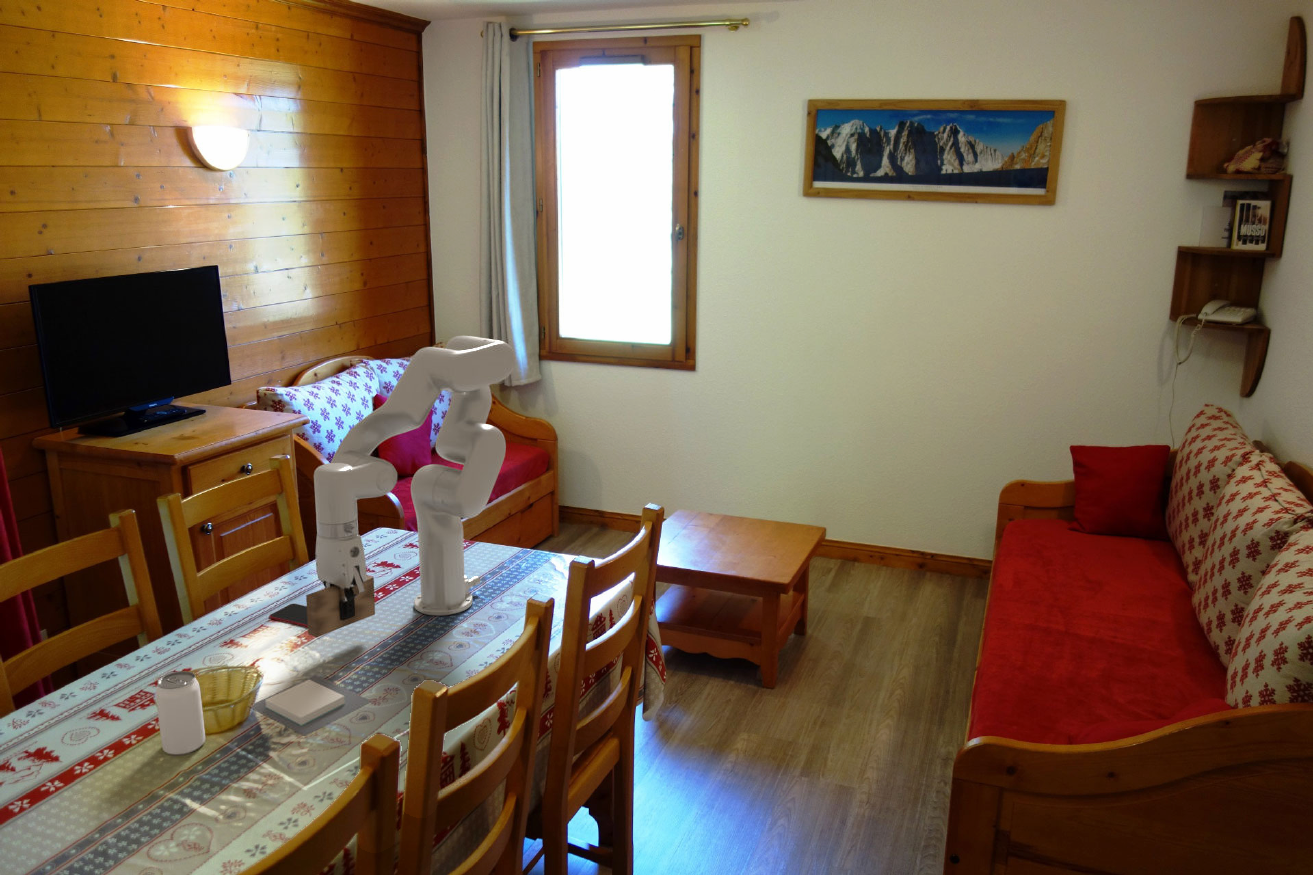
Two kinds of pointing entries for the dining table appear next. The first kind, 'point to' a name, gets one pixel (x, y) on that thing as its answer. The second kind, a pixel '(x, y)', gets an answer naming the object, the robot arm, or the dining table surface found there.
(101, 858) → the dining table surface
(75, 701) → the dining table surface
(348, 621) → the wooden plank piece
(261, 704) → the mat
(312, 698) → the tile
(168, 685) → the can
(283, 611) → the smartphone
